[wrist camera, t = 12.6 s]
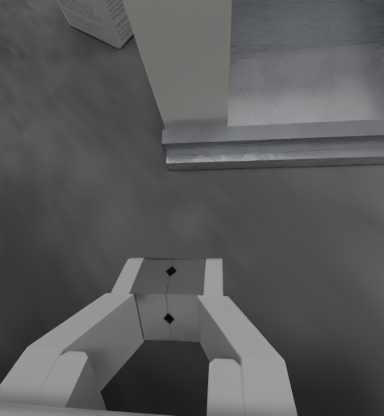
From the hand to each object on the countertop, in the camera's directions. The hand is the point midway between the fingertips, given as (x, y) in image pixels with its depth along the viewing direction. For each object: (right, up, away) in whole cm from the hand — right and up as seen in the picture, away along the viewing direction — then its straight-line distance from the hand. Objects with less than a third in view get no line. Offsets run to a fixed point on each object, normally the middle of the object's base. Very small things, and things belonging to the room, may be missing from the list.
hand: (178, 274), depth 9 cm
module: (+1, +10, +10) cm, 14 cm away
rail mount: (+7, +10, +10) cm, 15 cm away
